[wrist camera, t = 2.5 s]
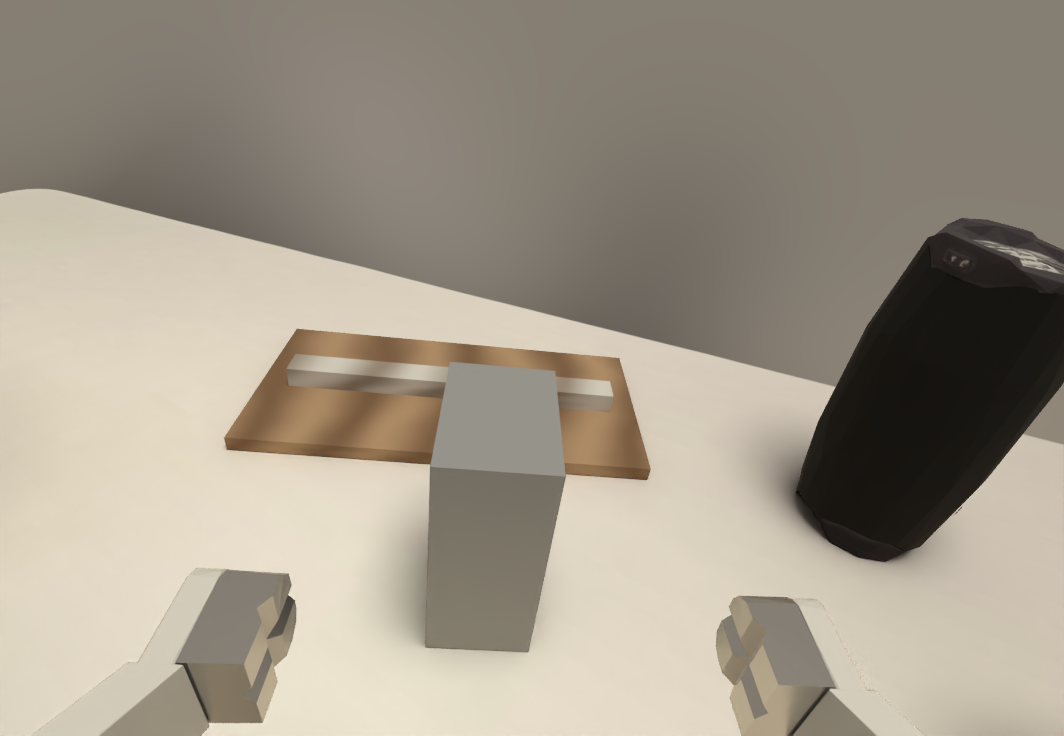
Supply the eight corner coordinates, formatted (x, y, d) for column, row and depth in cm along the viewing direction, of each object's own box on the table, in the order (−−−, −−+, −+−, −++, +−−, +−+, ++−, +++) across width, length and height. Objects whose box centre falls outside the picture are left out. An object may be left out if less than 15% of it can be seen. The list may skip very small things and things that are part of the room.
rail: (227, 449, 36) (219, 419, 34) (298, 338, 47) (294, 313, 46) (647, 479, 38) (655, 452, 37) (616, 367, 50) (622, 343, 48)
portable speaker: (956, 557, 36) (1193, 282, 25) (839, 578, 33) (1046, 282, 22) (861, 464, 42) (1015, 215, 32) (757, 476, 40) (886, 210, 29)
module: (424, 647, 27) (428, 466, 20) (441, 531, 32) (448, 361, 26) (529, 651, 27) (566, 476, 20) (527, 536, 33) (556, 371, 26)
